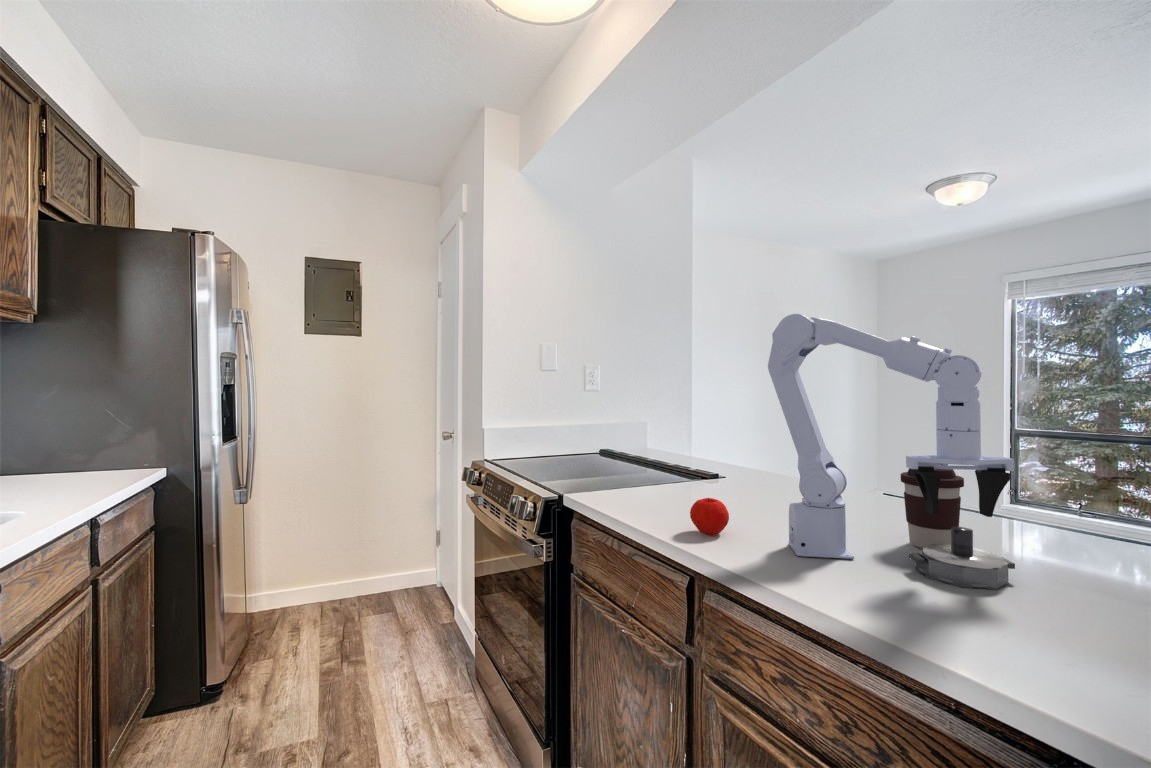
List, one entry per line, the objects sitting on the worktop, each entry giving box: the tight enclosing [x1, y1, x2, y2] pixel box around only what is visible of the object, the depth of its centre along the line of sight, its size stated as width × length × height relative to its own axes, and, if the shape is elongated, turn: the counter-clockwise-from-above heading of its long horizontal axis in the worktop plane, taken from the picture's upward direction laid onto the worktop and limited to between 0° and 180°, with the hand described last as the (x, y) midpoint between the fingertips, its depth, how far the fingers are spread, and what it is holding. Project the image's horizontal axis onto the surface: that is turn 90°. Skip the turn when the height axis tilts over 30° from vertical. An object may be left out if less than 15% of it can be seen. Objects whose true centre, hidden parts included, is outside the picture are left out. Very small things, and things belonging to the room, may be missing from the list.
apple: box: [689, 497, 730, 536], centre depth 107 cm, size 8×8×7 cm
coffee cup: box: [900, 468, 965, 549], centre depth 97 cm, size 10×10×15 cm
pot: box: [908, 548, 1016, 590], centre depth 82 cm, size 14×11×3 cm
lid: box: [923, 526, 1005, 569], centre depth 82 cm, size 10×10×5 cm
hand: (959, 514), depth 82 cm, fingers open, 7 cm apart
